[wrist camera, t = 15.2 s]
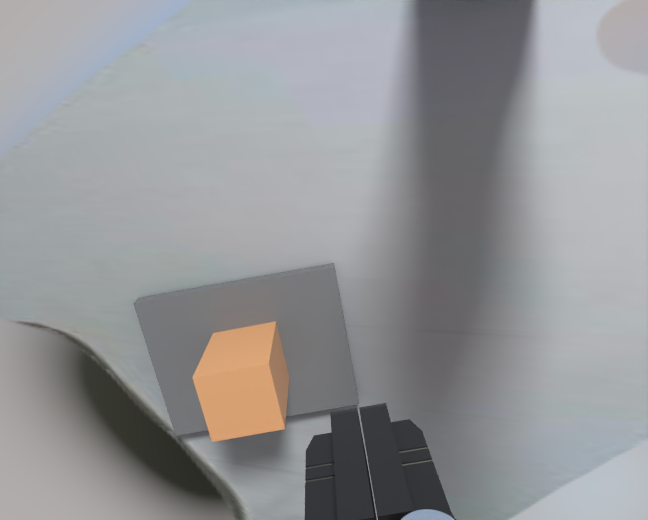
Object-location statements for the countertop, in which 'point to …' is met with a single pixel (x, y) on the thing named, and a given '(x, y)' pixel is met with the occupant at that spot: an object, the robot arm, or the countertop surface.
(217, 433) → the peach foam cube
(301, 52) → the countertop surface
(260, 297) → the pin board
